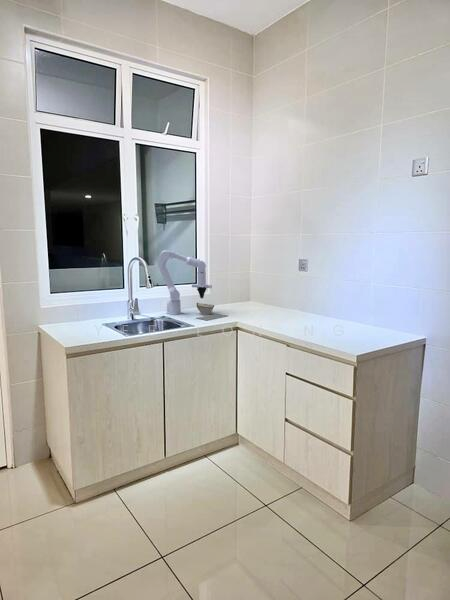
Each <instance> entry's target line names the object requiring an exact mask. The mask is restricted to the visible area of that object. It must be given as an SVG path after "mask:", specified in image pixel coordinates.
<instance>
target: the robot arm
mask: <svg viewBox="0 0 450 600" xmlns="http://www.w3.org/2000/svg"><path fill="white" fill-rule="evenodd" d="M169 259H177V260H180V261H183V262H185V263H186V264H187V265H188V266H190V267H193V268H197V272H196V273H197V274H196V275H197V280H196V281H197V284H194V283H192V284H191V288H196V290H197V292H198V295H199V297H200V299H204V296H205V293H206V291H207V289H212V287H213V286H212V284H207V276H206V275H207V273H206V272H207V271H206V267H207V265H206V262H205V261H203V260H201V259H199V258H198V259H197V258H194V256H185V255H182V254H180V253H177V252H176V251H171V250H167V249H165V250H162V251H161V252H160V253H159V255H158V262H157V266H158V269H159V271H160V274H161V276H162V278H163V281H164V282H165V285H166V287H167V289H168V292H169V297H170V299H169V300H168V301H167V303H166V310H167V311H166V314H167V315H174V316H175V315H176V316H177V315H180V314H181V315H182V314H184V311H183V312H182V309H181V308H182V307H181V299H180V295H181V294H180V292H179V291H178V290H177V288H176V286H175V284H174V282H173V280H172V278H171V274H170V272H169V270H168V267H167V262H168V260H169Z"/></svg>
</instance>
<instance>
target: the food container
mask: <svg viewBox="0 0 450 600" xmlns="http://www.w3.org/2000/svg"><path fill="white" fill-rule="evenodd" d="M196 308H197V310H198V311H199V312H200V314H201V315H203V316H209V315H211V313H212V312H213V310H214V308H215V305H214V304H208V303H200V302H196Z"/></svg>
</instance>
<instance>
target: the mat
mask: <svg viewBox="0 0 450 600" xmlns="http://www.w3.org/2000/svg"><path fill="white" fill-rule="evenodd" d="M225 317H229V315H227V314H221V313H216V314H215V313H214V314H208V315H203V316H200V317H195V319H197V320H200V321H201V320H202V321H212V320H216V319H222V318H225Z"/></svg>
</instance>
